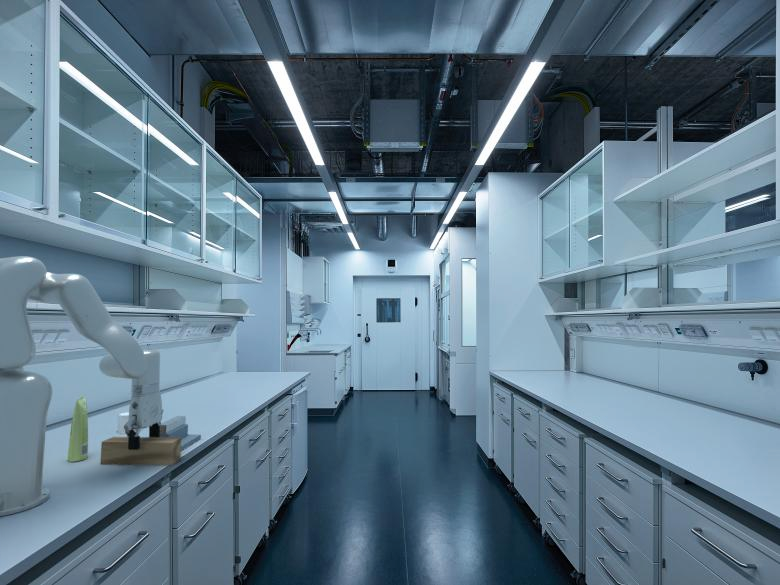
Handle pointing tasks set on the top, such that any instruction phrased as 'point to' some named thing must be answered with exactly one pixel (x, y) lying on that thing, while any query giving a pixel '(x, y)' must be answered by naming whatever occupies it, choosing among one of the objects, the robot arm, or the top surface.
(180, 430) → the stand
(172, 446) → the walnut bar
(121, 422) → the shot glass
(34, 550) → the top surface
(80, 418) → the tube
